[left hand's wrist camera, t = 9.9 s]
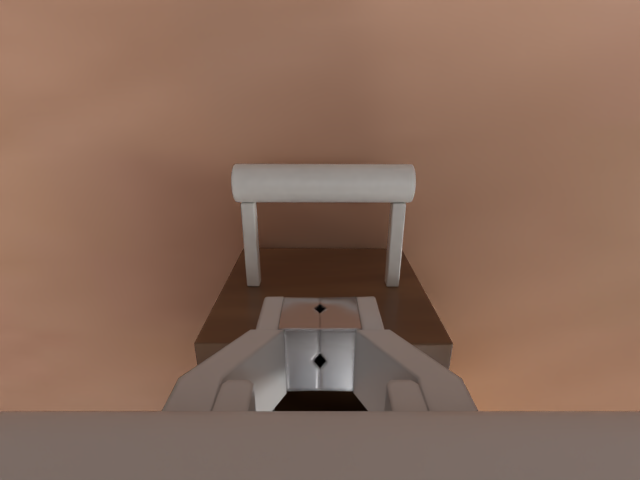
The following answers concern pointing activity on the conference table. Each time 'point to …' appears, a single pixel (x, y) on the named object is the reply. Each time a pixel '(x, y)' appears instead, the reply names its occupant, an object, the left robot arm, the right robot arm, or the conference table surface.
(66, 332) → the conference table surface
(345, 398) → the drawer
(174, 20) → the conference table surface
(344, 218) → the conference table surface
